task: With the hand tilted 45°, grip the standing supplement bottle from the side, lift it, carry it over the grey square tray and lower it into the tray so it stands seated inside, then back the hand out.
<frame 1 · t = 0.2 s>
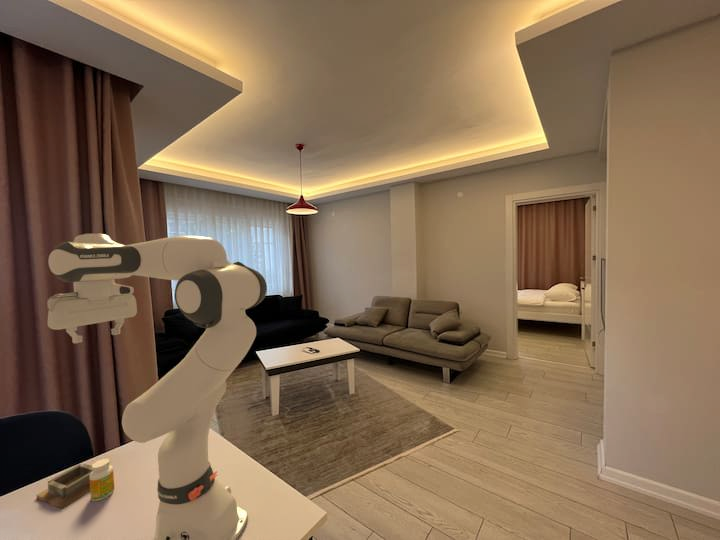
hand: (97, 338, 86), 47 cm above the table, tool pointing down, fingers open, 8 cm apart
supplement bottle: (103, 494, 89), on the table
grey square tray: (74, 487, 92), on the table
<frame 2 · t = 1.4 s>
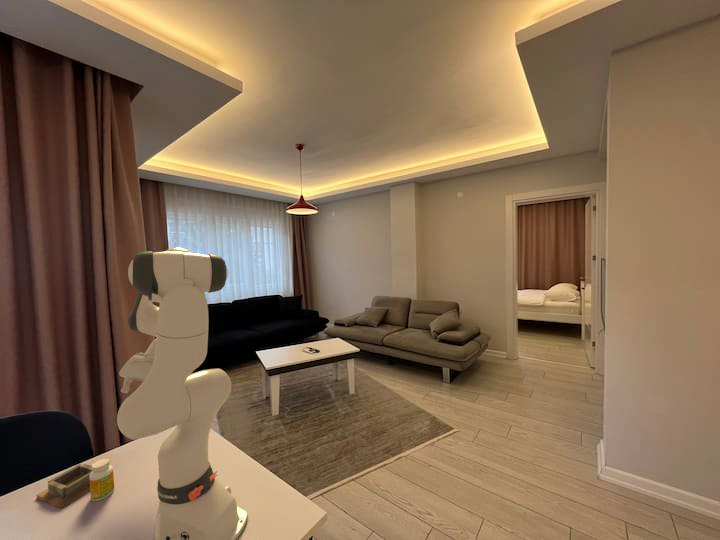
hand: (134, 394, 99), 25 cm above the table, tool tilted 45°, fingers open, 8 cm apart
nothing on the table moved.
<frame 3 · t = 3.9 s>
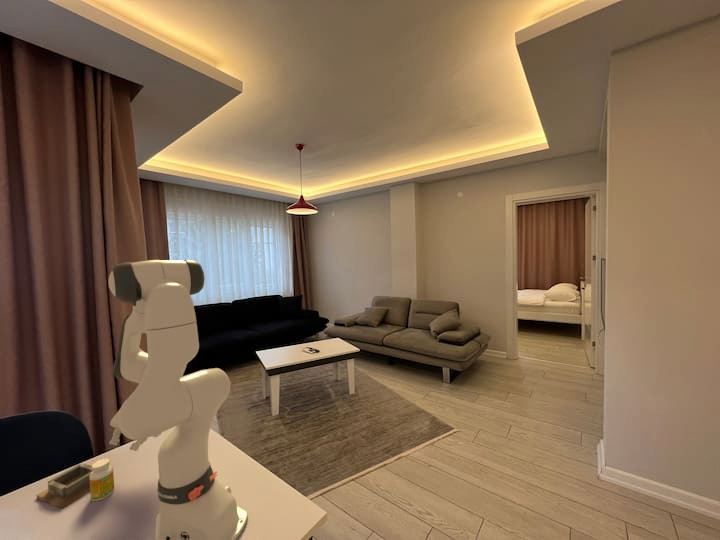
hand: (122, 447, 94), 11 cm above the table, tool tilted 45°, fingers open, 8 cm apart
nothing on the table moved.
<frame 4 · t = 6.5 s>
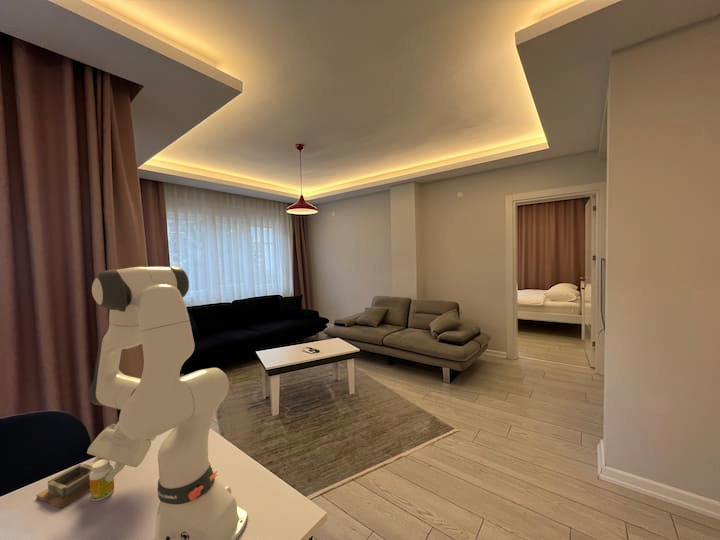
hand: (99, 478, 88), 5 cm above the table, tool tilted 45°, fingers closed on supplement bottle, 5 cm apart
supplement bottle: (103, 494, 89), on the table, touching gripper
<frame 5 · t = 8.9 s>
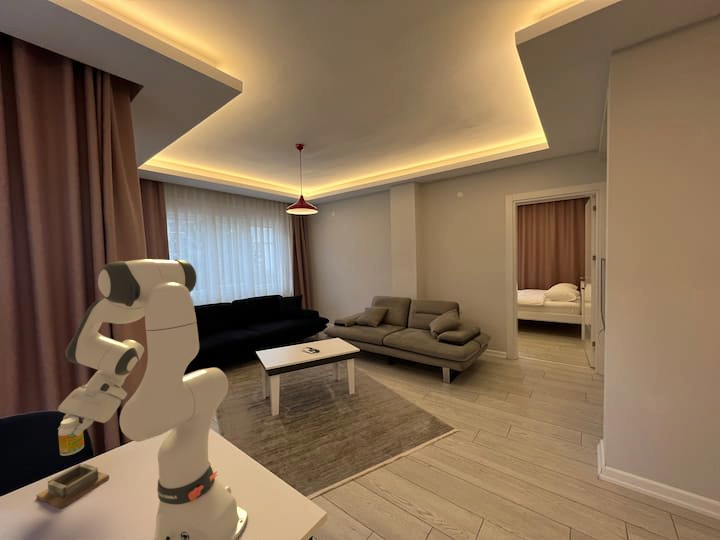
hand: (68, 432, 91), 18 cm above the table, tool tilted 45°, fingers closed on supplement bottle, 5 cm apart
supplement bottle: (72, 450, 92), point 12 cm above the table, touching gripper
when the fingers open (7 cm above the table, at t = 11.4 s): supplement bottle stays where it is, resting on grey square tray.
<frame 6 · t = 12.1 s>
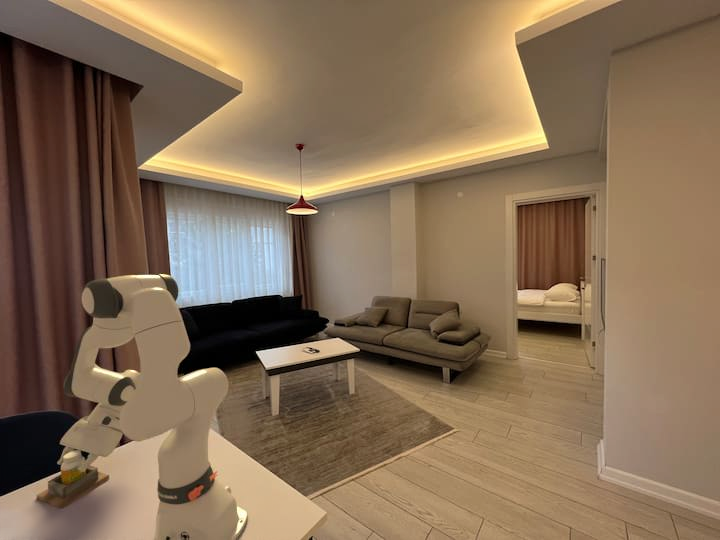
hand: (70, 467, 91), 7 cm above the table, tool tilted 45°, fingers open, 8 cm apart
supplement bottle: (74, 485, 92), point 1 cm above the table, touching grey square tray
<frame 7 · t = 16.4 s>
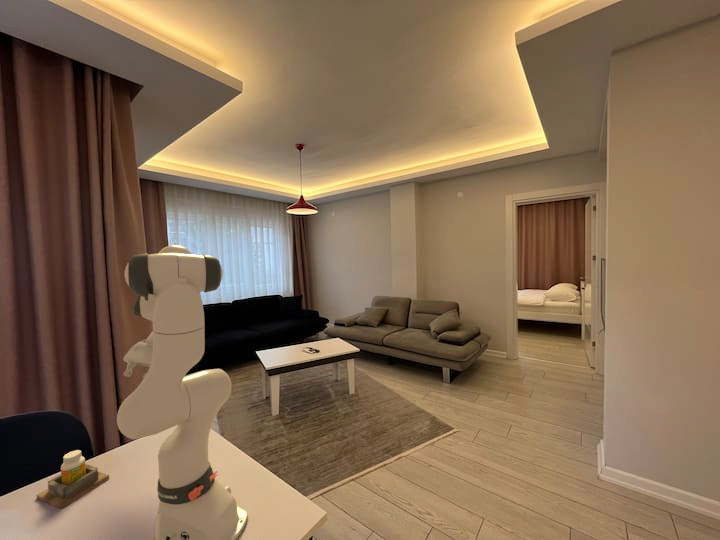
hand: (135, 377, 103), 29 cm above the table, tool tilted 45°, fingers open, 8 cm apart
nothing on the table moved.
at the end: supplement bottle 0.2 cm off-centre on the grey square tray, point 0.8 cm above the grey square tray's base; supplement bottle tilted 0°; the gripper is holding nothing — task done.
